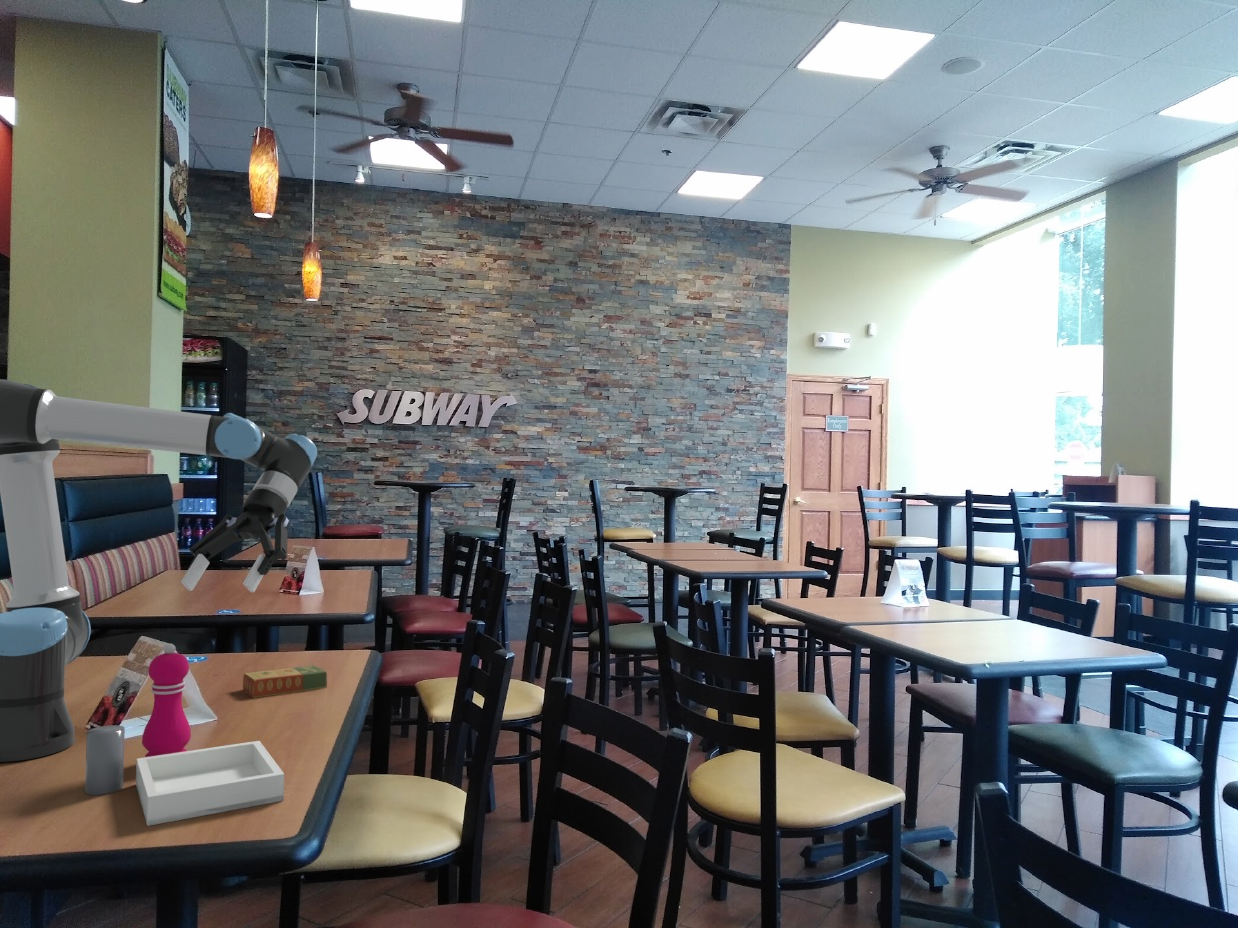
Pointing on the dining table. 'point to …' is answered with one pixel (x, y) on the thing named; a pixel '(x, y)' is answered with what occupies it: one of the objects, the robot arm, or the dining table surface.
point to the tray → (207, 781)
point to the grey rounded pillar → (104, 760)
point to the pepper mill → (167, 705)
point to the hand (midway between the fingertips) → (216, 587)
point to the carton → (284, 681)
